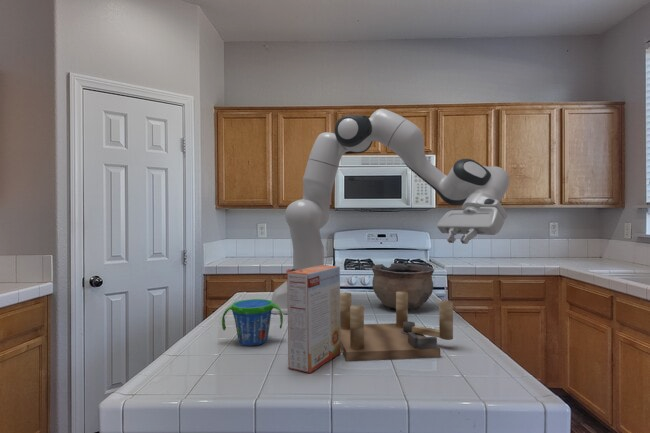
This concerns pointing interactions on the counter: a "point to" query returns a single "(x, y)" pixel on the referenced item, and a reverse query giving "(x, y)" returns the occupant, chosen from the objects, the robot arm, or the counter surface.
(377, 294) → the ceramic bowl
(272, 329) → the counter surface
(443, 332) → the leg
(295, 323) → the cracker box
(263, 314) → the snack cup
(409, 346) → the stool
